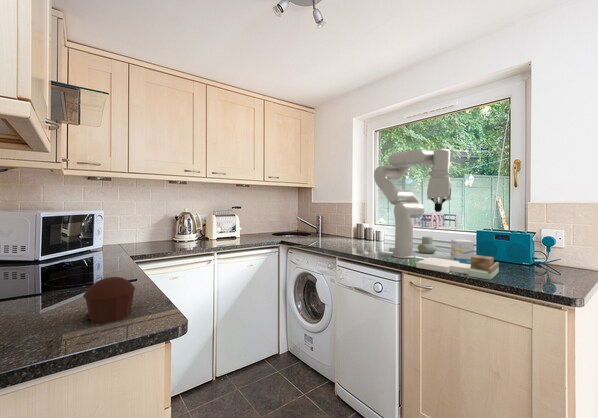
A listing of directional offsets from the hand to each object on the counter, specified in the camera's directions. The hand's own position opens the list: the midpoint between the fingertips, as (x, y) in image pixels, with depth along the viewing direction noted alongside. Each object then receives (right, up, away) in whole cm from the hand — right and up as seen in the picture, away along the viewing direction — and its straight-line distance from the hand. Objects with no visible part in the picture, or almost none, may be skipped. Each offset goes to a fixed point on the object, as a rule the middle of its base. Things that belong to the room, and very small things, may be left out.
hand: (437, 211), depth 139 cm
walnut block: (+12, -25, -16) cm, 32 cm away
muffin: (-119, -28, -64) cm, 138 cm away
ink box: (+17, -27, +9) cm, 33 cm away
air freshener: (+11, -26, +36) cm, 46 cm away
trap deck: (+4, -27, -8) cm, 29 cm away
